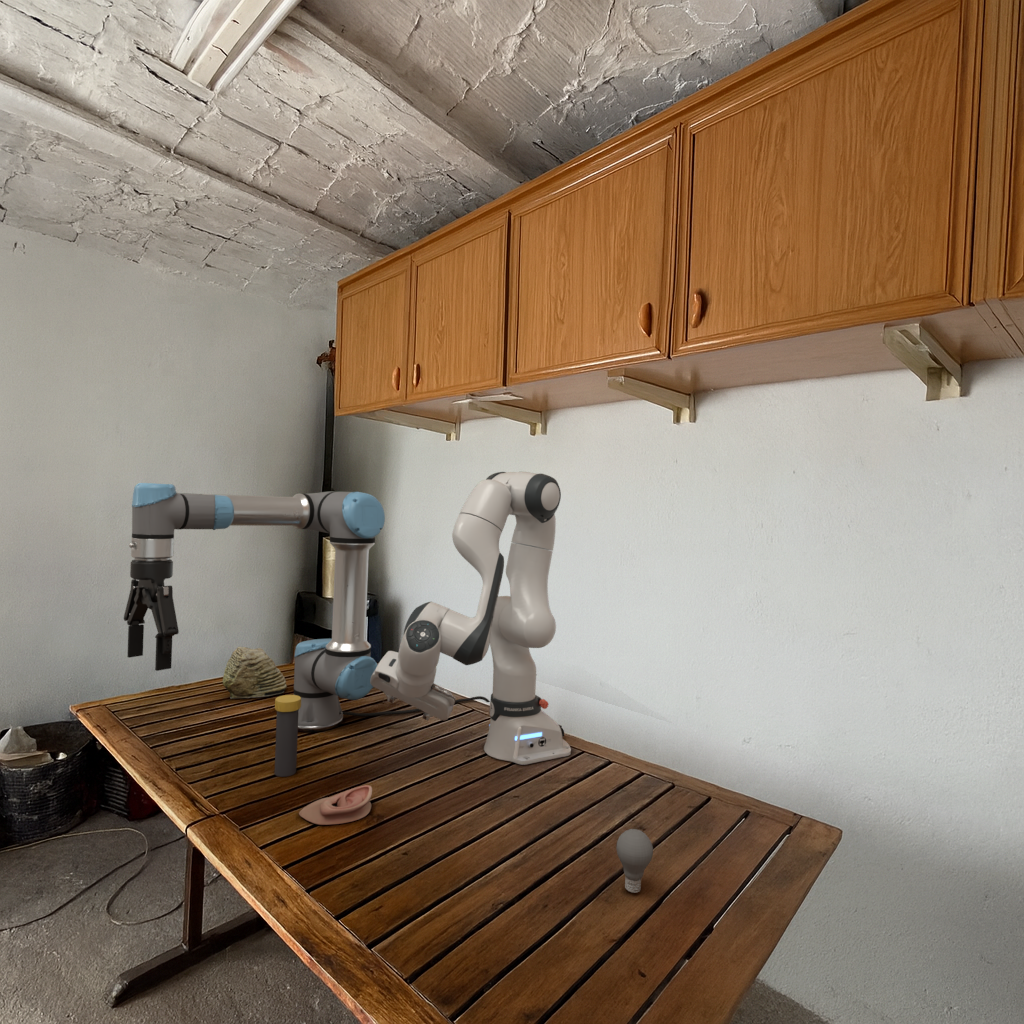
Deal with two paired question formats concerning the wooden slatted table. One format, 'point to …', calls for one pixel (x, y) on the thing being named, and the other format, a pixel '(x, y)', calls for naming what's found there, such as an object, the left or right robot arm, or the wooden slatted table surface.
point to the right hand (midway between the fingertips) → (409, 708)
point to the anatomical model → (339, 807)
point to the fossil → (252, 674)
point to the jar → (286, 743)
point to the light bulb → (634, 857)
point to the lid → (287, 703)
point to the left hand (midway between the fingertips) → (148, 662)
